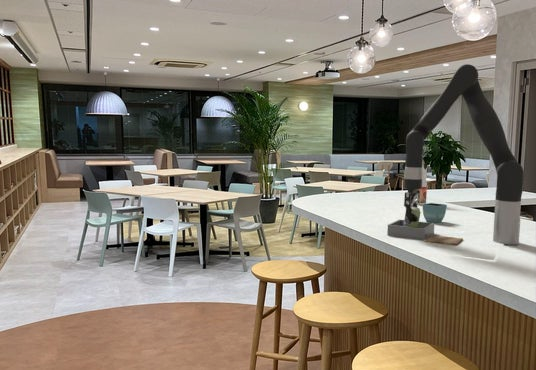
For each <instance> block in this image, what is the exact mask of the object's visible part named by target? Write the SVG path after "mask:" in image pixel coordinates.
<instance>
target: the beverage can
mask: <svg viewBox="0 0 536 370" xmlns="http://www.w3.org/2000/svg"><path fill="white" fill-rule="evenodd" d="M421 214H422V213H421V209H420V208H419V207H418V206H417V207H412V211H411V217H407V216H406V212H405V214H404V219H403V220H404V224H403V226H406V227H415V228H418V224H419V222H420V217H421Z"/></svg>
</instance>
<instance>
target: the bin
mask: <svg viewBox="0 0 536 370" xmlns="http://www.w3.org/2000/svg"><path fill="white" fill-rule="evenodd" d="M403 224H404V219H397V220H395V221H393V222H391V223H389V224H387V232H386V233H387V235H386V236H390V237H399V238H400V237H401V238H406V239H407V238H408V239H416V240H423V241H424V240H426V239H428V238H429V237H431V236H432V235H435V223H432V222H427V221H425V222H424V221H419V224H418V228H415V227H406V226H403Z"/></svg>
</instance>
